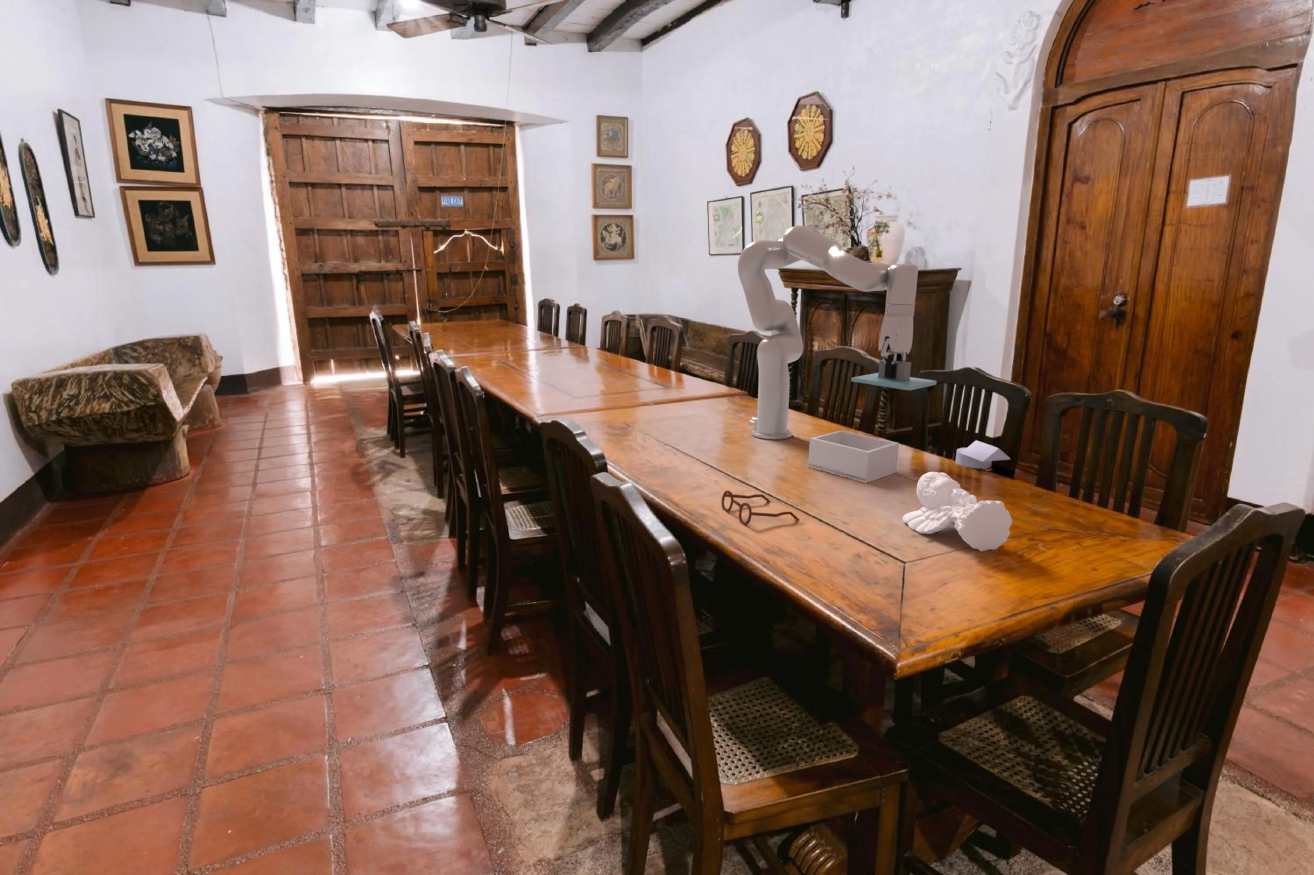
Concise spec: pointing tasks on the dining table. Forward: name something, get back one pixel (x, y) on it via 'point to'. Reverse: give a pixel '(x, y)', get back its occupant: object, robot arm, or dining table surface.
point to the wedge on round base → (979, 455)
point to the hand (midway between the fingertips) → (893, 376)
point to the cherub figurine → (958, 513)
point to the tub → (853, 455)
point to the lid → (899, 382)
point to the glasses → (749, 507)
